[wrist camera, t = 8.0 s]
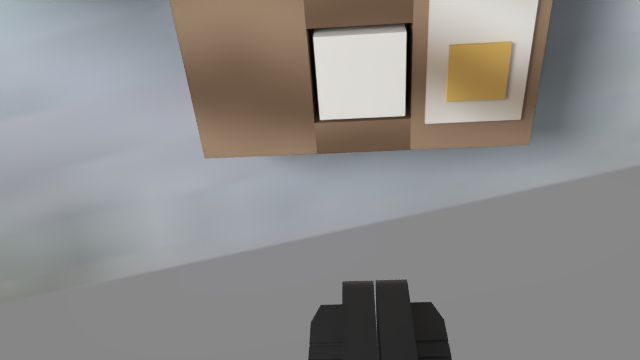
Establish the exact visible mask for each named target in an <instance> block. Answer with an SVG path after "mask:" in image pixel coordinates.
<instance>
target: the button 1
mask: <svg viewBox="0 0 640 360" xmlns="http://www.w3.org/2000/svg"><path fill="white" fill-rule="evenodd" d="M406 33H407V32H406V28H405V25H404V23H397V24H380V25H363V26H346V27H330V28H314V35H313V42H314V54H315V66H316V79H317V91H318V103H319V115H320V120H331V119H352V118H374V117H395V116H405V96H406Z"/></svg>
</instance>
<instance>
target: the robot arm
mask: <svg viewBox="0 0 640 360" xmlns="http://www.w3.org/2000/svg"><path fill="white" fill-rule="evenodd" d="M342 289H343V292H342V296H343V299H342V301H343V303H342V304H341V305H321V306H320V308H319V309H318V311H317V313H316V315H315V316H314V318H313V320H312V322H311V328H310V347H309V359H308V360H452V359H451V353H450V347H449V344H448V337H447V332H446V327H445V322H444V319H443V318H442V316H441V315H440V314H439V312H438V311H437V310H436V308H435V307H434V305H433V304H432V303H431V302H416V303H410V297H409V291H408V283H407V280H376V316H375V301H374V285H373V281H348V282H347V281H345V282H343V288H342ZM376 319H377V331H376ZM377 345H378V347H377Z"/></svg>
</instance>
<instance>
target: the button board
mask: <svg viewBox="0 0 640 360" xmlns="http://www.w3.org/2000/svg"><path fill="white" fill-rule="evenodd" d="M169 1H170V5H171V10H172V14H173V19H174V23H175V28H176V32H177V37H178V41H179V45H180V50H181V54H182V59H183V63H184V68H185V72H186V77H187V81H188V85H189V90H190V94H191V99H192V103H193V108H194V112H195V117H196V121H197V126H198V130H199V134H200V139H201V143H202V148H203V152H204V157H205V158H227V157H251V156H274V155H298V154H322V153H346V152H370V151H393V150H417V149H441V148H465V147H488V146H512V145H529V143H530V137H531V131H532V124H533V118H534V112H535V106H536V100H537V94H538V88H539V82H540V76H541V69H542V63H543V57H544V51H545V45H546V39H547V33H548V27H549V20H550V14H551V8H552V2H553V0H169ZM397 23H404V25H405V28H406V32H407V33H406V96H405V116H395V117H374V118H352V119H331V120H320V115H319V103H318V91H317V79H316V66H315V54H314V42H313V35H314V28H330V27H346V26H363V25H380V24H397Z"/></svg>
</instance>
